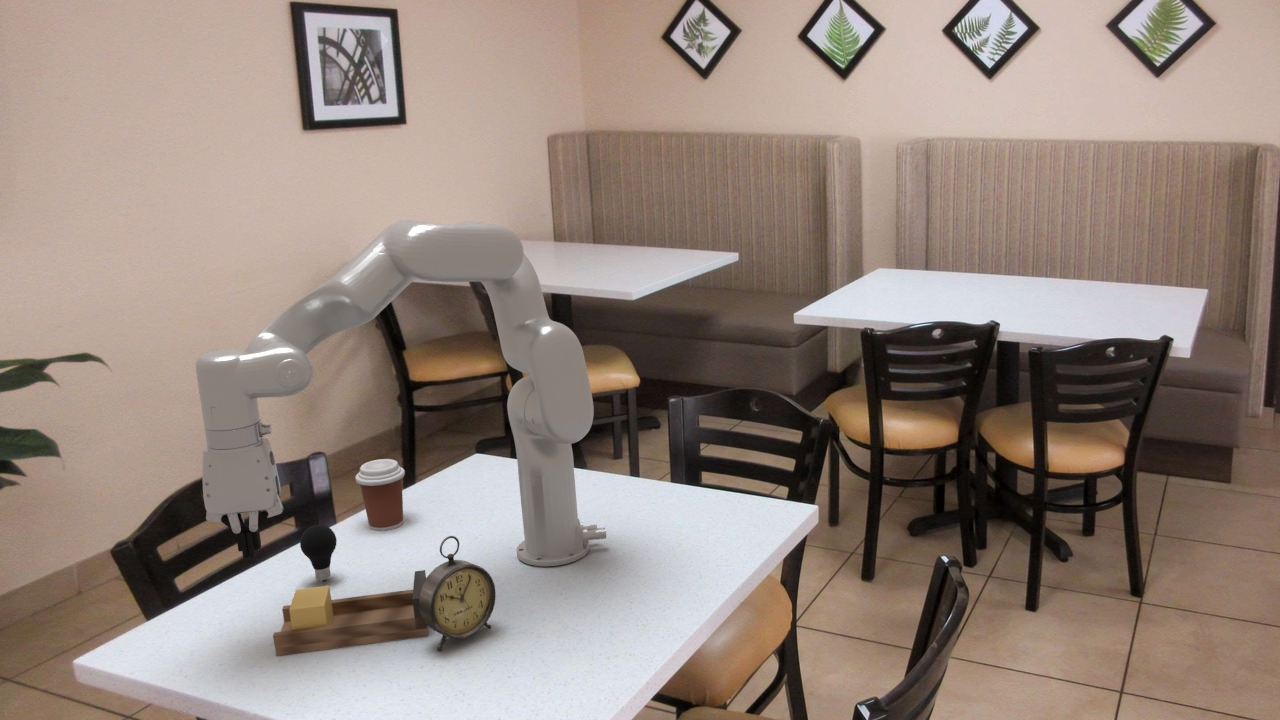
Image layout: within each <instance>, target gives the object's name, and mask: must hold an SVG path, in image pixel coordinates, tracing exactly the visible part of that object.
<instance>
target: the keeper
mask: <svg viewBox="0 0 1280 720" xmlns="http://www.w3.org/2000/svg"><path fill="white" fill-rule="evenodd" d="M330 588H331V587H330V585H324V586H323V585H321V586H315V587H314V586H313V587H307V588H297V589H295V591H294V595H293V598H292V601H291V603H290V605H291V606H290V609H289V612H290V618H291V625H292V630H297V629H304V628H312V627H320V626H327V625H331V624H332V620H333V616H334V614H333V607H332V600H333V599H332V595H331V594H332V593H331V589H330Z"/></svg>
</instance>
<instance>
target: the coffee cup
mask: <svg viewBox="0 0 1280 720" xmlns="http://www.w3.org/2000/svg"><path fill="white" fill-rule="evenodd" d="M405 474H406V470H405V469H404V468H403V467H401V466H400V465H399V463H398V461H397V460H396V459H395V460H394V459H392V458H383V459H382V458H381V459H380V458H379V459H375V460H370V461H367V462H365V463H363V464H362V465H361V466H360V467H359V471H358V473H357V474H356V475H355V477H354V478H355V482H356V484H359V486H360V490H361V494H362V499H363V504H364V509H365V513H366V518H367V522H368V527H369V529H370V530H372V531H375V532H385V531H391V530H394V529H397V528H400V527H401V526H403V524H404V521H405V520H404V502H403V501H404V499H403V478H404V476H405Z"/></svg>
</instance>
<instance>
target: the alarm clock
mask: <svg viewBox="0 0 1280 720" xmlns="http://www.w3.org/2000/svg"><path fill="white" fill-rule="evenodd" d="M449 539H454V540H455V541H456V544H457V546H456V550H455V551H454V553H449V554H447V555H445V554H444V553H443V546H444V544H445V542H446V541H447V540H449ZM459 549H460V540H459V538H457V536H454V535H449V536H446V537H445V538H444V539H443V540H442V541H441V543H440V545H439V552H440V555H441V556H442V557H443V558H445V559H448V560H447V561H445V562H443V563H441V564H439V565H437V567H435V568H434V569H433V570H432V571H430V573H429V574H428V575H427V576H426V580H425V582H424V584H423V586H422V589H421V592H420V597H419V608H420V613H421V616H422V618H423V620H424V622H425V623H426V625H427V626H428V628H430V629H431V630H432V631H434V632H436V633H438V634H440V635H442V636H441V638H440V642H439V646H438V648H437V651H438V652H441V651H443V646H444V645H445V644H446V640H447V639H451V640H463V639H467V638H469V637H472V636H473V635H474V634H476V633H477V632H480V630H481V629H482V628H483V627H486V629H487V630H490V629H491V625H490V624H488V621H489V619H490V618H491V615H492V613H493V611H494V607H495V604H496V596H497V594H496V585H495V582H494V580H493V577H492V576H491V575H490V573H489V571H487V569H485V568H483V567H482V566H479V565H477V564H474V563H471V562H469V561H467V560H463V559H454V558H455V556H456V554H457V553H458V552H459Z"/></svg>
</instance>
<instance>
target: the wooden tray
mask: <svg viewBox="0 0 1280 720" xmlns="http://www.w3.org/2000/svg"><path fill="white" fill-rule="evenodd" d="M426 578H427V573H426V569H424V570H415V571H414V578H413V585H412V586H413V589H407V590H399V591H391V592H383V593H375V594H368V595H360V596H359V595H358V596H352V597H343V598H336V599H335V598H334V599H331V600H332V607H333V614H334V616H333V620H332V624H331V625H327V626H320V627H312V628H304V629H297V630H292V625H291V618H290V612H289V609H290V606H291V604H287V605H283V606H282V609H281V610H282V617H283V624H282V626H281V630H280V631H276V632H275V631H274V632H273V635H272V638H273V639H272V640H273V643H274V644H273V645H274V652H275V656H276V657H279V656H287V655H294V654H300V653H308V652H317V651H324V650H332V649H340V648H348V647H353V646H360V645H361V646H363V645H368V644H370V645H371V644H376V643H378V644H379V643H384V642H391V641H392V642H393V641H399V640H400V641H401V640H405V639H406V640H407V639H414V638H420V637H428V636H429V627H428V626H427V625H426V623H425V622H424V620H423V618H422V616H421V613H420V608H419V597H420V592H421V589H422V586H423V584H424V582H425V580H426Z"/></svg>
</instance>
